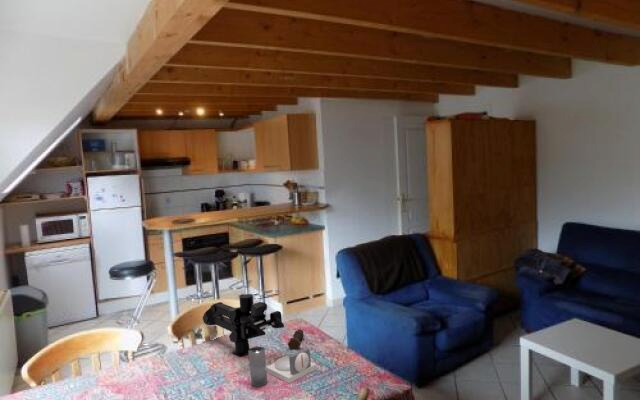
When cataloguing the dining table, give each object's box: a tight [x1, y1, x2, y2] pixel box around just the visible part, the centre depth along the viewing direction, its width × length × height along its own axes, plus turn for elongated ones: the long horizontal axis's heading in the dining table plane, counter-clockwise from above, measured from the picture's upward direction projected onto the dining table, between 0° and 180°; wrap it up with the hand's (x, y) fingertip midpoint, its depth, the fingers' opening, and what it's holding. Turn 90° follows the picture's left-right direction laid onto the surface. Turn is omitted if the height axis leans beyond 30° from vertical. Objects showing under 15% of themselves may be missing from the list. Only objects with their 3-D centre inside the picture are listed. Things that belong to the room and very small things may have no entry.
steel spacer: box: [248, 346, 269, 388], centre depth 159 cm, size 6×6×13 cm
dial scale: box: [266, 347, 317, 384], centre depth 168 cm, size 14×14×9 cm
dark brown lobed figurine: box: [287, 329, 304, 351], centre depth 194 cm, size 6×5×15 cm
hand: (274, 329), depth 168 cm, fingers open, 9 cm apart
